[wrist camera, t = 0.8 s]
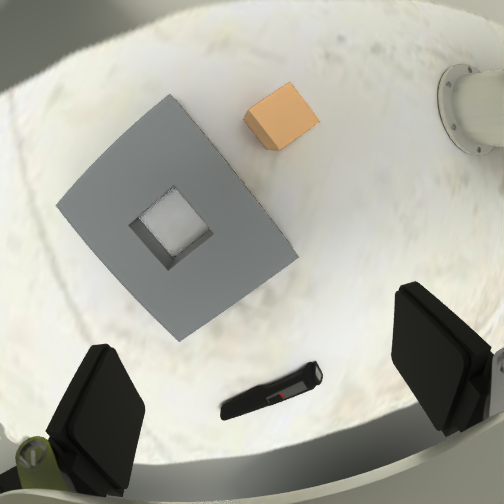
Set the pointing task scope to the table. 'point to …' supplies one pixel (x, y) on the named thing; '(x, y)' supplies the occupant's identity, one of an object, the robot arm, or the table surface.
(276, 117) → the peg
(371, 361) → the table surface
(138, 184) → the socket board
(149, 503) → the robot arm
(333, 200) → the table surface
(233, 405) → the electric trimmer
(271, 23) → the table surface
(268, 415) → the table surface
